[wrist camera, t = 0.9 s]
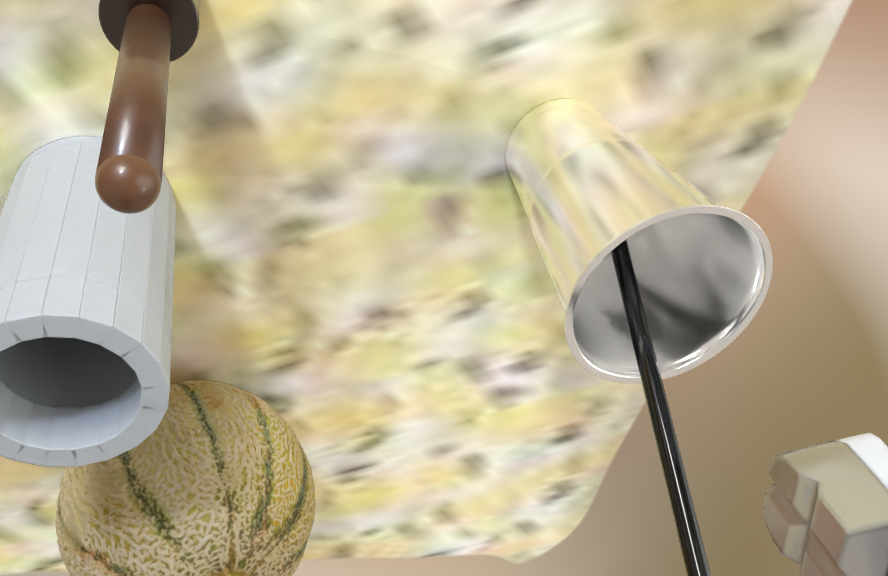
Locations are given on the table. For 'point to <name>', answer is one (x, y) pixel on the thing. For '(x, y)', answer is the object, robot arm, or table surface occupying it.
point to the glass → (636, 266)
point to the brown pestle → (140, 96)
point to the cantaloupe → (193, 494)
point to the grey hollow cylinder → (81, 312)
